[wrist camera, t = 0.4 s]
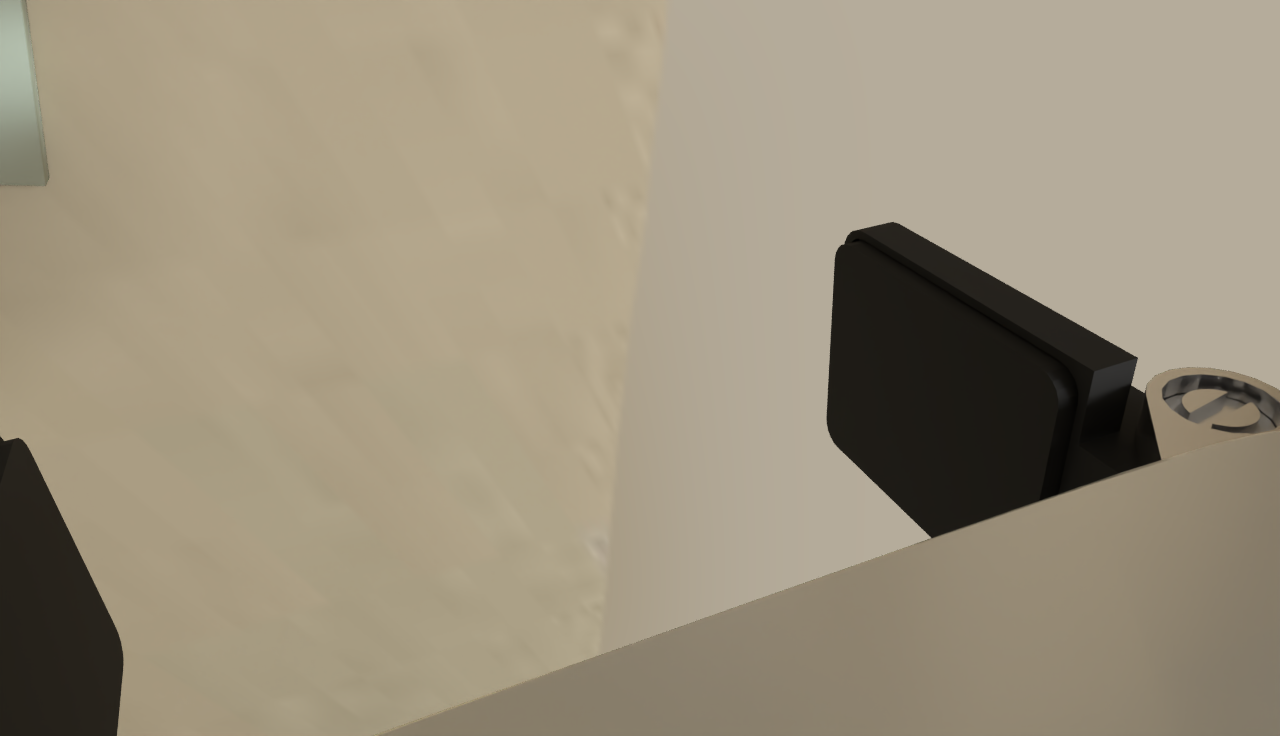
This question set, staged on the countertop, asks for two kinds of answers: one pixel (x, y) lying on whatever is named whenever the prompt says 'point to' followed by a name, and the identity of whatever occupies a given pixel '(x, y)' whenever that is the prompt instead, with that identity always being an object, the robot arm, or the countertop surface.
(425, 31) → the countertop surface
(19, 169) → the socket holder
